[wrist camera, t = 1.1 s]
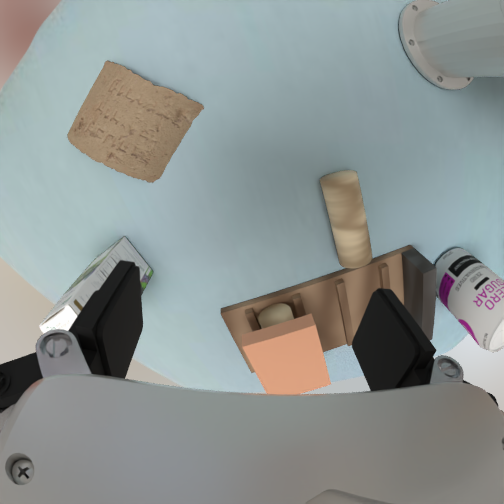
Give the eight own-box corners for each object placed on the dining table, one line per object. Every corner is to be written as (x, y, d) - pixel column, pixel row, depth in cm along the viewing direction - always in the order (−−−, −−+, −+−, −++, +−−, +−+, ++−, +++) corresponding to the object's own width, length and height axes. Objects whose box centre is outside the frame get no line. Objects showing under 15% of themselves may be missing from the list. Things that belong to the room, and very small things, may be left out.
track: (410, 244, 34) (436, 267, 28) (412, 312, 39) (432, 339, 33) (220, 308, 37) (218, 343, 31) (251, 368, 42) (253, 401, 36)
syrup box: (123, 291, 35) (81, 373, 22) (94, 256, 33) (35, 329, 20) (154, 271, 34) (116, 356, 21) (124, 232, 32) (66, 304, 19)
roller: (342, 168, 30) (364, 172, 27) (359, 246, 35) (379, 257, 31) (313, 179, 30) (332, 185, 26) (333, 259, 34) (351, 272, 31)
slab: (311, 313, 31) (315, 324, 29) (327, 373, 35) (330, 384, 34) (241, 334, 32) (242, 346, 30) (269, 390, 36) (271, 401, 34)
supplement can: (446, 300, 39) (497, 360, 25) (418, 282, 37) (476, 349, 23) (473, 259, 36) (534, 311, 23) (449, 236, 34) (519, 291, 21)
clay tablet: (210, 107, 27) (207, 106, 25) (164, 189, 30) (157, 195, 28) (101, 57, 23) (91, 53, 21) (64, 136, 27) (52, 138, 24)
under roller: (288, 299, 35) (293, 319, 32) (306, 352, 40) (311, 373, 36) (257, 309, 36) (259, 330, 32) (279, 360, 40) (282, 381, 36)
